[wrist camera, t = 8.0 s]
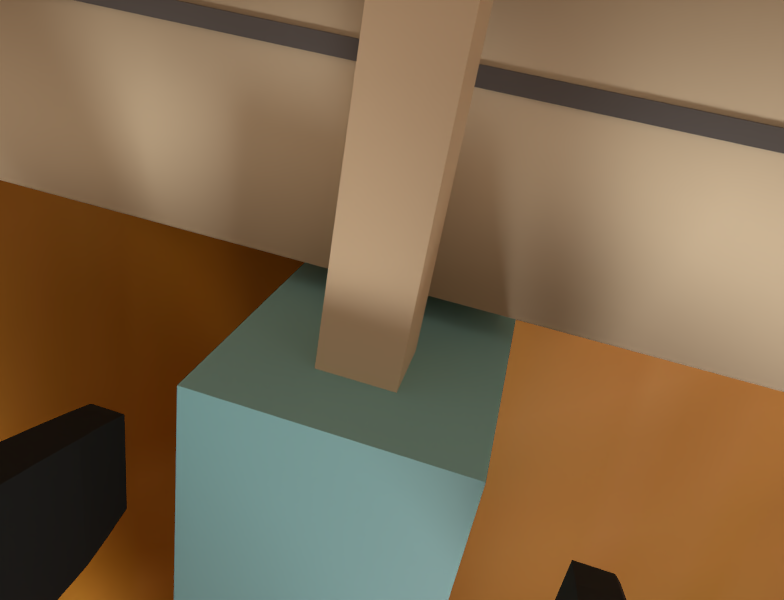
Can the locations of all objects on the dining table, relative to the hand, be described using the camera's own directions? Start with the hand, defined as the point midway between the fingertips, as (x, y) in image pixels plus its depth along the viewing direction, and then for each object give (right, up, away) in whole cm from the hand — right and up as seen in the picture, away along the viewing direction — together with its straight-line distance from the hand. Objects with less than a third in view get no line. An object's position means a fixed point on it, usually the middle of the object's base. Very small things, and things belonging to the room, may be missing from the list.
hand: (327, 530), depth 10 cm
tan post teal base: (+2, +5, +2) cm, 5 cm away
